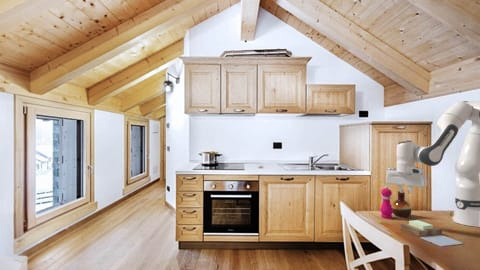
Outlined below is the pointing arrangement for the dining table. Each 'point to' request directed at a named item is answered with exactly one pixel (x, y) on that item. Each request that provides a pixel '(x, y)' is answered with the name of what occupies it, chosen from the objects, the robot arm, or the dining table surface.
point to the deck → (421, 231)
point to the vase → (401, 206)
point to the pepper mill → (386, 204)
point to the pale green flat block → (421, 225)
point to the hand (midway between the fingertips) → (405, 193)
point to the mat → (441, 240)
